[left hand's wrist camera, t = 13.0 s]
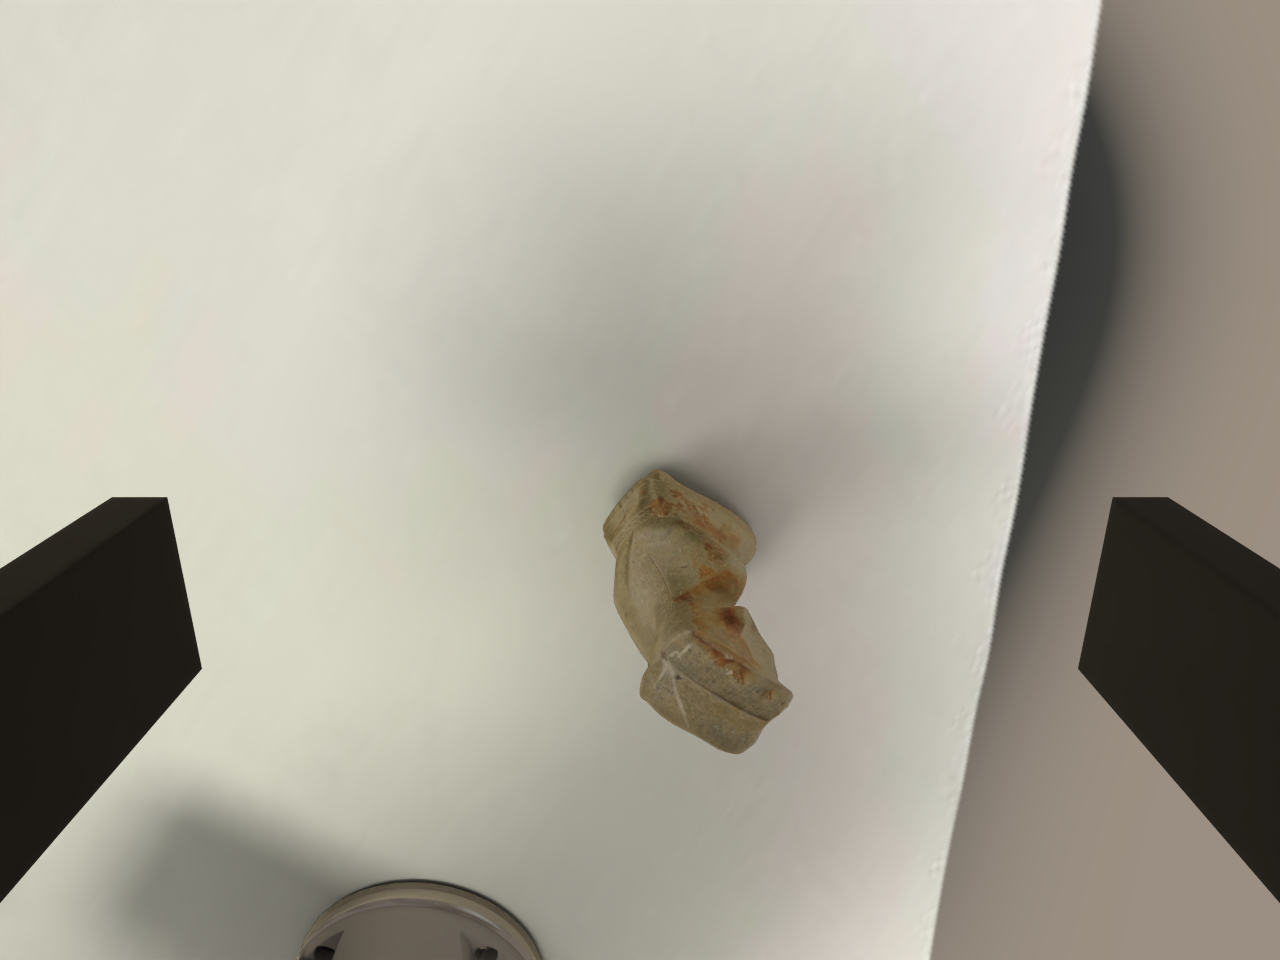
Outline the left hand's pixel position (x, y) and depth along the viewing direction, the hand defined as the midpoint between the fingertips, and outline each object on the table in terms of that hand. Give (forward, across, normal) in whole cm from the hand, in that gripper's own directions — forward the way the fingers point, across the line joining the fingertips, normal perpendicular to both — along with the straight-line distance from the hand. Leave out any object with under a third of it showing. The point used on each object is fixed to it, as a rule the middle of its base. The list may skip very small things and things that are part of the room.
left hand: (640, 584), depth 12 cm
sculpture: (+29, -2, +11) cm, 32 cm away
